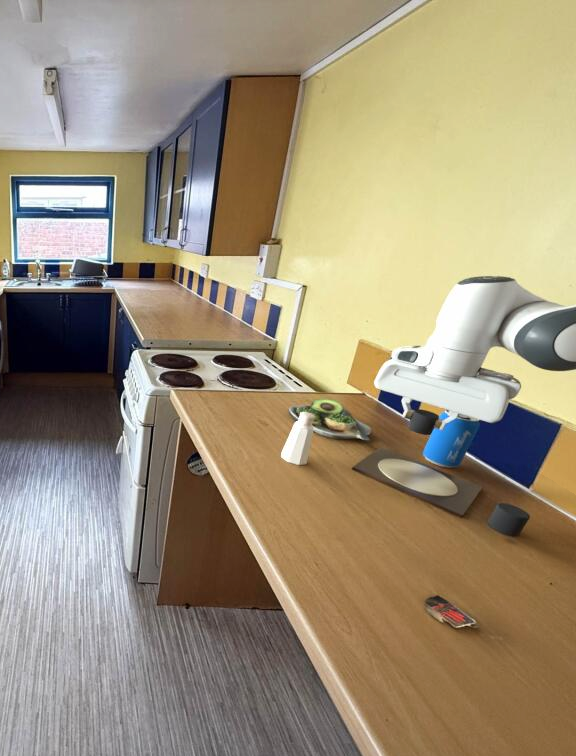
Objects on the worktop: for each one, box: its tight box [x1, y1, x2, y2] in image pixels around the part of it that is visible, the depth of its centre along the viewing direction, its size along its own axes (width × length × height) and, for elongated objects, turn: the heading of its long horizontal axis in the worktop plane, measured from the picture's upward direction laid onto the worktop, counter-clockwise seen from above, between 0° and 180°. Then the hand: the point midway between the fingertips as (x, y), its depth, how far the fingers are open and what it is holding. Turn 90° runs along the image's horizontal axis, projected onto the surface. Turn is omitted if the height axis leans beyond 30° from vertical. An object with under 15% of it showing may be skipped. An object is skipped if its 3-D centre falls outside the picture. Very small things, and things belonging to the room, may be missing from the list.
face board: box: [351, 447, 483, 518], centre depth 84 cm, size 18×16×1 cm
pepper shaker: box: [280, 412, 315, 466], centre depth 87 cm, size 5×5×11 cm
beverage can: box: [422, 409, 481, 469], centre depth 89 cm, size 6×6×12 cm
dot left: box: [406, 408, 440, 436], centre depth 84 cm, size 4×4×4 cm
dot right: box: [487, 502, 531, 537], centre depth 70 cm, size 4×4×4 cm
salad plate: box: [288, 398, 372, 442], centre depth 104 cm, size 19×18×5 cm
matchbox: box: [423, 594, 479, 629], centre depth 54 cm, size 5×5×1 cm
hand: (422, 423), depth 84 cm, fingers closed on dot left, 4 cm apart
